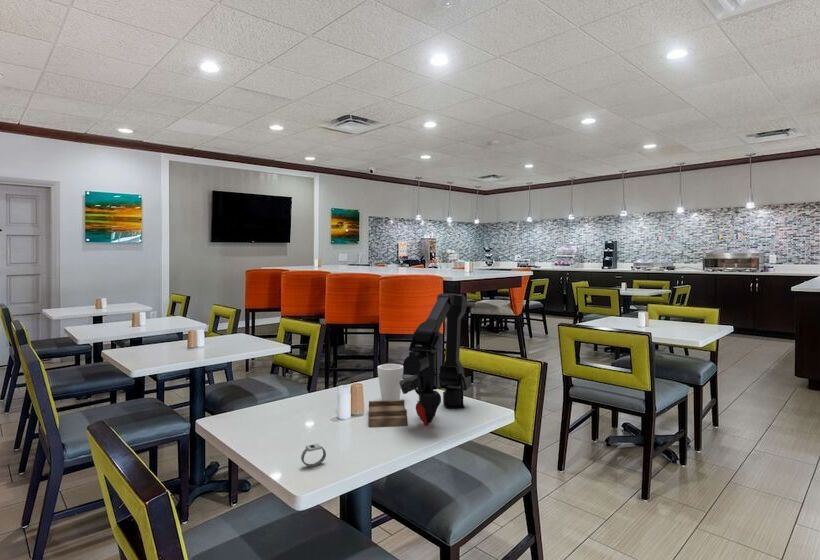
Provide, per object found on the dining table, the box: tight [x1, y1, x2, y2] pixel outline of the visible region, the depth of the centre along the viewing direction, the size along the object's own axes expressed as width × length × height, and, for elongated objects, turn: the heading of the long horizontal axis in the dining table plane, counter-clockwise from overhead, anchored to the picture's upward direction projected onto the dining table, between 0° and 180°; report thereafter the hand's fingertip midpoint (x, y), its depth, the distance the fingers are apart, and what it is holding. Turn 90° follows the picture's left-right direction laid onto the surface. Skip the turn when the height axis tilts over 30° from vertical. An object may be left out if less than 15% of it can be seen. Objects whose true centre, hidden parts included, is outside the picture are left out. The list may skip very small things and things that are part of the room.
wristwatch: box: [300, 443, 327, 468], centre depth 119 cm, size 6×3×5 cm, turn 121°
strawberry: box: [415, 400, 438, 426], centre depth 147 cm, size 6×8×10 cm
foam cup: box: [377, 363, 404, 401], centre depth 172 cm, size 10×9×13 cm
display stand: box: [368, 399, 408, 428], centre depth 155 cm, size 12×16×4 cm
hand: (426, 417), depth 147 cm, fingers open, 9 cm apart
